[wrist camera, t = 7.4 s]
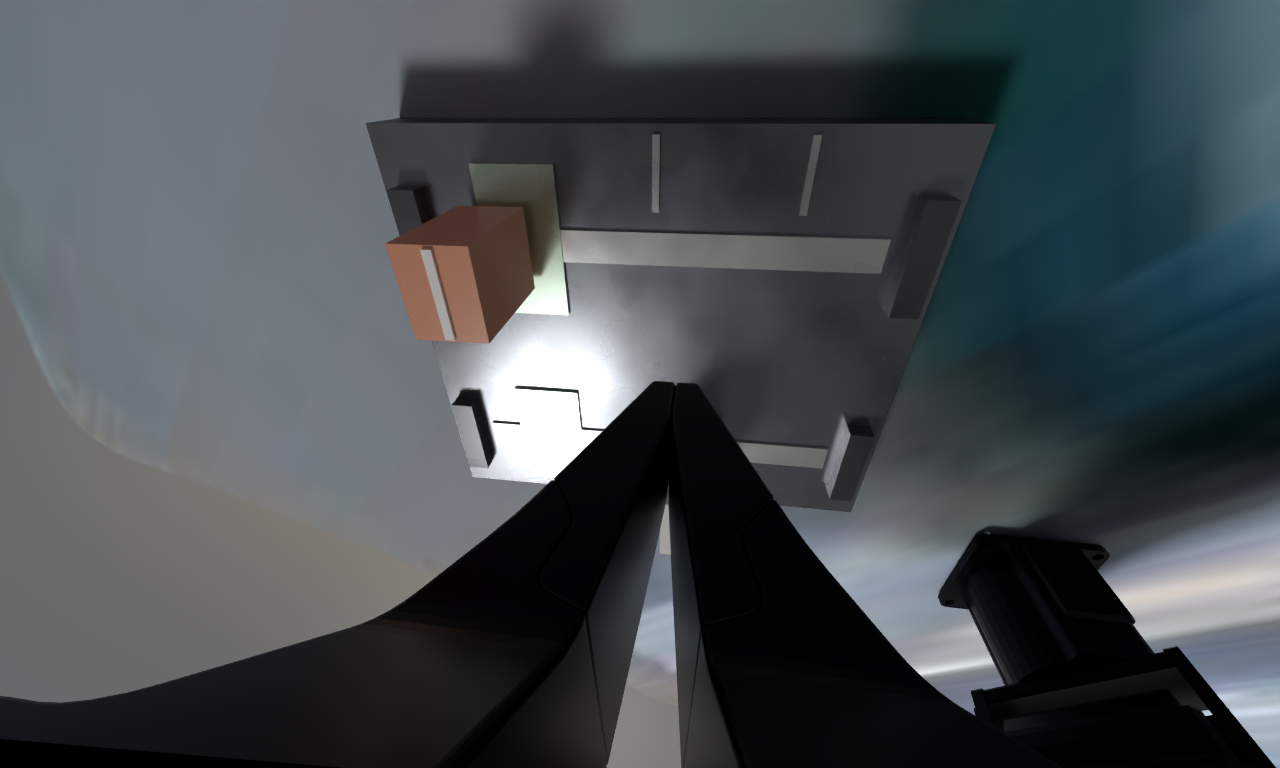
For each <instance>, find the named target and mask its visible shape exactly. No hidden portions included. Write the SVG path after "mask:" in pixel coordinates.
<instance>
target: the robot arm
mask: <svg viewBox="0 0 1280 768" xmlns="http://www.w3.org/2000/svg"><path fill="white" fill-rule="evenodd" d="M668 485H669V490H668ZM667 493H668V508H669V528H670V548H671V568H672V588H673V608H674V628H675V648H676V668H677V688H678V708H679V728H680V746H681V747H680V748H681V768H1276V767H1275V766H1274V765H1273V763H1272V762H1271V761H1270V760H1269V758H1268V757H1267V756H1266V755H1265V753H1264V752H1263V751H1262V750H1261V749H1260V747H1259V746H1258V745H1257V744H1256V742H1255V741H1254V740H1253V739H1252V737H1251V736H1250V735H1249V734H1248V733H1247V731H1246V730H1245V729H1244V728H1243V726H1242V725H1241V724H1240V723H1239V721H1238V720H1237V719H1236V718H1235V717H1234V715H1233V714H1232V713H1231V712H1230V710H1229V709H1228V708H1227V707H1226V705H1225V704H1224V703H1223V702H1222V701H1221V699H1220V698H1219V697H1218V696H1217V694H1216V693H1215V692H1214V691H1213V690H1212V688H1211V687H1210V686H1209V685H1208V683H1207V682H1206V681H1205V680H1204V678H1203V677H1202V676H1201V675H1200V674H1199V672H1198V671H1197V670H1196V669H1195V667H1194V666H1193V665H1192V664H1191V662H1190V661H1189V660H1188V659H1187V658H1186V656H1185V655H1184V654H1183V653H1182V651H1181V650H1180V649H1179V648H1178V647H1177V646H1176V647H1171V648H1167V649H1162V650H1163V651H1164V652H1161V653H1156V654H1155V653H1154V652H1153V651H1152V649H1151V648H1150V647H1149V645H1148V644H1147V643H1146V641H1145V640H1144V639H1143V638H1142V636H1141V635H1140V634H1139V632H1138V631H1137V630H1136V628H1135V627H1134V626H1133V624H1134V623H1135V619H1134V617H1133V616H1132V615H1131V614H1130V612H1129V611H1128V610H1127V608H1126V607H1125V606H1124V605H1123V603H1122V602H1121V601H1120V599H1119V598H1118V597H1117V595H1116V594H1115V593H1114V592H1113V590H1112V589H1111V588H1110V586H1109V585H1108V584H1107V582H1106V581H1105V580H1104V579H1103V577H1102V576H1101V575H1100V573H1099V572H1098V571H1097V570H1098V569H1099V568H1100V567H1101V566H1102V565H1103V564H1104V562H1105V561H1106V560H1107V559H1108V558H1109V556H1110V555H1109V553H1108V552H1107V551H1106V549H1105V548H1104V547H1103V546H1100V545H1093V544H1083V543H1072V542H1062V541H1051V540H1041V539H1031V538H1020V537H1010V536H999V535H989V534H983V535H979V536H977V537H975V538H974V540H973V541H972V543H971V544H970V546H969V548H968V549H967V551H966V552H965V554H964V555H963V557H962V559H961V560H960V562H959V563H958V565H957V567H956V568H955V570H954V571H953V573H952V574H951V576H950V578H949V579H948V581H947V582H946V584H945V586H944V587H943V589H942V590H941V592H940V593H939V595H938V599H939V601H940V603H941V605H943V606H945V607H953V608H961V609H969V611H970V613H971V615H972V618H973V620H974V622H975V624H976V626H977V628H978V630H979V632H980V634H981V636H982V639H983V641H984V643H985V645H986V647H987V649H988V651H989V653H990V655H991V657H992V660H993V662H994V664H995V666H996V668H997V670H998V672H999V674H1000V676H1001V678H1002V681H1003V683H1004V685H1005V686H1001V687H996V688H992V689H987V690H983V689H982V688H981V689H976V690H972V691H971V695H972V698H973V701H974V705H975V708H974V712H975V715H976V716H975V715H973V714H971V713H970V712H968V711H966V710H965V709H963V708H961V707H960V706H958V705H957V704H955V703H954V702H952V701H951V700H950V699H948V698H947V697H945V696H944V695H943V694H941V693H940V692H939V691H938V690H936V689H935V688H934V687H933V686H932V685H931V684H929V683H928V682H927V681H926V680H925V679H924V678H923V677H922V676H921V675H919V674H918V673H917V672H916V671H915V670H914V669H913V668H912V667H911V666H910V665H909V664H908V663H907V662H906V660H905V659H904V658H903V657H902V656H901V655H900V654H899V653H898V652H897V650H896V649H895V648H894V647H893V646H892V645H891V644H890V642H889V641H888V640H887V639H886V638H885V636H884V635H883V634H882V633H881V632H880V631H879V629H878V628H877V627H876V626H875V625H874V624H873V622H872V621H871V620H870V619H869V618H868V617H867V615H866V614H865V613H864V612H863V611H862V610H861V608H860V607H859V606H858V605H857V604H856V603H855V601H854V600H853V599H852V598H851V597H850V596H849V594H848V593H847V592H846V591H845V590H844V589H843V587H842V586H841V585H840V584H839V583H838V582H837V580H836V579H835V578H834V577H833V576H832V574H831V573H830V572H829V571H828V570H827V568H826V567H825V566H824V565H823V564H822V562H821V561H820V560H819V559H818V557H817V556H816V555H815V554H814V553H813V551H812V550H811V549H810V548H809V546H808V545H807V544H806V543H805V541H804V540H803V538H802V537H801V536H800V534H799V533H798V532H797V530H796V529H795V527H794V526H793V525H792V523H791V522H790V520H789V519H788V518H787V516H786V515H785V513H784V512H783V510H782V509H781V507H780V506H779V504H778V502H777V501H776V500H774V497H773V495H772V494H771V492H770V491H769V489H768V488H767V486H766V485H765V483H764V482H763V480H762V479H761V477H760V476H759V474H758V473H757V472H756V470H755V469H754V467H753V466H752V464H751V463H750V461H749V460H748V458H747V457H746V455H745V454H744V452H743V451H742V449H741V448H740V446H739V445H738V443H737V442H736V440H735V439H734V437H733V436H732V434H731V433H730V431H729V430H728V428H727V427H726V425H725V424H724V422H723V421H722V419H721V418H720V416H719V415H718V413H717V412H716V410H715V409H714V407H713V406H712V404H711V403H710V401H709V400H708V398H707V397H706V395H705V394H704V392H703V391H702V389H701V388H700V386H699V385H698V384H696V383H681V382H679V383H677V384H676V386H675V384H674V383H673V382H666V381H654V382H652V383H651V384H650V385H649V386H648V387H647V388H646V389H645V390H644V391H643V392H642V393H641V394H640V395H639V396H638V397H637V398H636V399H635V400H633V401H632V402H631V403H630V404H629V405H628V406H627V407H626V408H625V409H624V410H623V411H622V412H621V413H620V414H619V415H618V416H617V417H616V418H615V419H614V420H613V421H612V422H611V423H610V424H609V425H608V426H607V427H606V428H605V429H604V430H603V431H602V432H601V433H600V434H599V435H598V436H596V437H595V438H594V439H593V440H592V441H591V442H590V443H589V444H588V445H587V446H586V447H585V448H584V449H583V450H582V451H581V452H580V453H579V454H578V455H577V456H576V457H575V458H574V459H573V460H572V461H571V462H570V463H569V464H568V465H567V466H566V467H565V468H564V469H563V470H562V471H561V472H560V473H558V474H557V475H556V476H555V478H554V480H551V481H550V482H549V483H548V484H547V485H546V486H545V487H544V488H543V489H542V490H541V491H540V492H539V493H538V494H537V495H535V496H534V497H533V498H532V499H531V500H530V501H529V502H528V503H527V504H526V505H525V506H523V507H522V508H521V509H520V510H519V511H518V512H517V513H516V514H515V515H513V516H512V517H511V518H510V519H509V520H507V521H506V522H505V523H504V524H502V525H501V526H500V527H499V528H498V529H496V530H495V531H494V532H493V533H491V534H490V535H489V536H488V537H487V538H485V539H484V540H483V541H481V542H480V543H479V544H478V545H476V546H475V547H474V548H472V549H471V550H470V551H469V552H467V553H466V554H465V555H464V556H462V557H461V558H460V559H458V560H457V561H456V562H455V563H453V564H452V565H451V566H449V567H448V568H447V569H446V570H444V571H443V572H442V573H440V574H439V575H438V576H437V577H436V578H434V579H433V580H432V581H430V582H429V583H428V584H426V585H425V586H424V587H423V588H421V589H420V590H419V591H417V592H416V593H415V594H413V595H412V596H411V597H409V598H408V599H406V600H405V601H404V602H402V603H401V604H399V605H397V606H396V607H394V608H393V609H391V610H389V611H387V612H386V613H384V614H382V615H380V616H378V617H376V618H374V619H372V620H369V621H367V622H365V623H362V624H360V625H357V626H354V627H351V628H347V629H344V630H341V631H337V632H334V633H331V634H327V635H324V636H320V637H317V638H314V639H310V640H307V641H304V642H300V643H297V644H294V645H290V646H287V647H283V648H280V649H277V650H273V651H270V652H267V653H263V654H260V655H256V656H253V657H250V658H246V659H243V660H239V661H236V662H233V663H230V664H226V665H223V666H219V667H216V668H213V669H209V670H206V671H202V672H199V673H195V674H192V675H189V676H185V677H182V678H179V679H176V680H172V681H168V682H165V683H162V684H159V685H154V686H151V687H147V688H143V689H139V690H136V691H131V692H128V693H123V694H118V695H113V696H107V697H102V698H97V699H92V700H83V701H74V702H64V703H55V702H54V703H53V702H37V701H30V700H25V699H19V698H12V697H4V696H0V768H606V765H607V764H608V761H609V756H610V752H611V747H612V743H613V738H614V733H615V729H616V725H617V720H618V716H619V711H620V707H621V702H622V698H623V694H624V689H625V685H626V680H627V676H628V671H629V667H630V662H631V658H632V653H633V649H634V644H635V640H636V635H637V631H638V626H639V622H640V617H641V613H642V608H643V604H644V599H645V595H646V590H647V586H648V581H649V577H650V572H651V568H652V563H653V559H654V554H655V550H656V546H657V541H658V537H659V532H660V528H661V523H662V519H663V514H664V510H665V505H666V499H667ZM1203 710H1209V711H1210V712H1211V713H1212V714H1213V715H1210V716H1205V715H1204V714H1203V712H1202V711H1203Z"/></svg>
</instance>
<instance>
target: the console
mask: <svg viewBox="0 0 1280 768" xmlns="http://www.w3.org/2000/svg"><path fill="white" fill-rule="evenodd" d="M366 125H367V129H368V132H369V135H370V139H371V142H372V145H373V149H374V152H375V155H376V159H377V162H378V165H379V168H380V172H381V175H382V178H383V182H384V185H385V188H386V192H387V195H388V198H389V202H390V205H391V208H392V211H393V215H394V218H395V221H396V225H397V228H398V231H399V235H400V236H401V235H403V234H405V233H407V232H409V231H410V230H412V229H414V228H416V227H418V226H420V225H422V224H424V223H426V222H428V221H430V220H431V219H433V218H435V217H437V216H439V215H441V214H443V213H445V212H447V211H449V210H451V209H452V208H454V207H456V206H497V207H523V210H524V217H525V224H526V231H527V237H528V244H529V251H530V258H531V265H532V271H533V278H534V285H535V289H534V290H533V291H532V292H531V294H530V295H529V296H528V297H527V299H526V300H525V301H524V302H523V303H522V305H521V306H520V307H519V308H518V309H517V311H516V312H515V313H514V314H513V316H512V317H511V318H510V319H509V320H508V322H507V323H506V324H505V325H504V327H503V328H502V329H501V330H500V331H499V333H498V334H497V335H496V336H495V337H494V339H493V340H492V341H491V342H490V344H485V343H468V342H451V341H434V340H432V344H433V347H434V350H435V354H436V357H437V360H438V364H439V367H440V370H441V374H442V377H443V380H444V383H445V387H446V390H447V393H448V397H449V400H450V403H451V407H452V410H453V413H454V417H455V420H456V423H457V426H458V430H459V433H460V436H461V440H462V443H463V446H464V450H465V453H466V456H467V460H468V463H469V466H470V469H471V473H472V476H473V477H481V478H491V479H502V480H513V481H523V482H534V483H545V484H548V483H549V482H550V481H551V480H554V478H555V476H556V475H557V474H558V473H560V472H561V471H562V470H563V469H564V468H565V467H566V466H567V465H568V464H569V463H570V462H571V461H572V460H573V459H574V458H575V457H576V456H577V455H578V454H579V453H580V452H581V451H582V450H583V449H584V448H585V447H586V446H587V445H588V444H589V443H590V442H591V441H592V440H593V439H594V438H595V437H596V436H598V435H599V434H600V433H601V432H602V431H603V430H604V429H605V428H606V427H607V426H608V425H609V424H610V423H611V422H612V421H613V420H614V419H615V418H616V417H617V416H618V415H619V414H620V413H621V412H622V411H623V410H624V409H625V408H626V407H627V406H628V405H629V404H630V403H631V402H632V401H633V400H635V399H636V398H637V397H638V396H639V395H640V394H641V393H642V392H643V391H644V390H645V389H646V388H647V387H648V386H649V385H650V384H651V383H652V382H654V381H666V382H673V383H674V384H675V386H676V384H677V383H679V382H681V383H696V384H698V385H699V386H700V388H701V389H702V391H703V392H704V394H705V395H706V397H707V398H708V400H709V401H710V403H711V404H712V406H713V407H714V409H715V410H716V412H717V413H718V415H719V416H720V418H721V419H722V421H723V422H724V424H725V425H726V427H727V428H728V430H729V431H730V433H731V434H732V436H733V437H734V439H735V440H736V442H737V443H738V445H739V446H740V448H741V449H742V451H743V452H744V454H745V455H746V457H747V458H748V460H749V461H750V463H751V464H752V466H753V467H754V469H755V470H756V472H757V473H758V474H759V476H760V477H761V479H762V480H763V482H764V483H765V485H766V486H767V488H768V489H769V491H770V492H771V494H772V495H773V497H774V500H776V501H777V502H778V504H779V505H781V506H791V507H802V508H813V509H824V510H834V511H845V512H851V510H852V508H853V505H854V502H855V500H856V497H857V494H858V492H859V489H860V486H861V484H862V481H863V478H864V476H865V473H866V470H867V468H868V465H869V462H870V460H871V457H872V454H873V452H874V449H875V446H876V444H877V441H878V438H879V436H880V433H881V430H882V428H883V425H884V422H885V420H886V417H887V414H888V412H889V409H890V406H891V404H892V401H893V398H894V396H895V393H896V390H897V388H898V385H899V382H900V380H901V377H902V374H903V372H904V369H905V366H906V364H907V361H908V358H909V356H910V353H911V350H912V348H913V345H914V342H915V340H916V337H917V334H918V332H919V329H920V326H921V324H922V321H923V318H924V316H925V313H926V310H927V308H928V305H929V302H930V300H931V297H932V294H933V292H934V289H935V286H936V284H937V281H938V278H939V276H940V273H941V270H942V268H943V265H944V262H945V260H946V257H947V254H948V252H949V249H950V246H951V243H952V241H953V238H954V235H955V233H956V230H957V227H958V225H959V222H960V219H961V217H962V214H963V211H964V209H965V206H966V203H967V201H968V198H969V195H970V193H971V190H972V187H973V185H974V182H975V179H976V177H977V174H978V171H979V169H980V166H981V163H982V161H983V158H984V155H985V153H986V150H987V147H988V145H989V142H990V139H991V137H992V134H993V131H994V129H995V126H996V124H994V123H988V122H983V121H977V120H972V119H966V118H397V119H390V120H384V121H377V122H370V123H366Z"/></svg>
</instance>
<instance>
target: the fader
mask: <svg viewBox="0 0 1280 768" xmlns="http://www.w3.org/2000/svg"><path fill="white" fill-rule="evenodd" d="M385 245H386V248H387V251H388V254H389V257H390V260H391V263H392V266H393V269H394V272H395V275H396V279H397V282H398V285H399V288H400V291H401V294H402V297H403V300H404V303H405V306H406V309H407V313H408V316H409V319H410V322H411V325H412V328H413V331H414V334H415V337H416V339H417V340H434V341H451V342H468V343H485V344H490V342H491V341H492V340H493V339H494V337H495V336H496V335H497V334H498V333H499V331H500V330H501V329H502V328H503V327H504V325H505V324H506V323H507V322H508V320H509V319H510V318H511V317H512V316H513V314H514V313H515V312H516V311H517V309H518V308H519V307H520V306H521V305H522V303H523V302H524V301H525V300H526V299H527V297H528V296H529V295H530V294H531V292H532V291H533V290H534V289H535V285H534V278H533V271H532V265H531V258H530V251H529V244H528V237H527V231H526V224H525V217H524V210H523V207H497V206H456V207H454V208H452V209H451V210H449V211H447V212H445V213H443V214H441V215H439V216H437V217H435V218H433V219H431V220H430V221H428V222H426V223H424V224H422V225H420V226H418V227H416V228H414V229H412V230H410V231H409V232H407V233H405V234H403V235H401V236H399V237H397V238H395V239H393V240H391V241H389V242H388V243H386V244H385Z"/></svg>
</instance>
